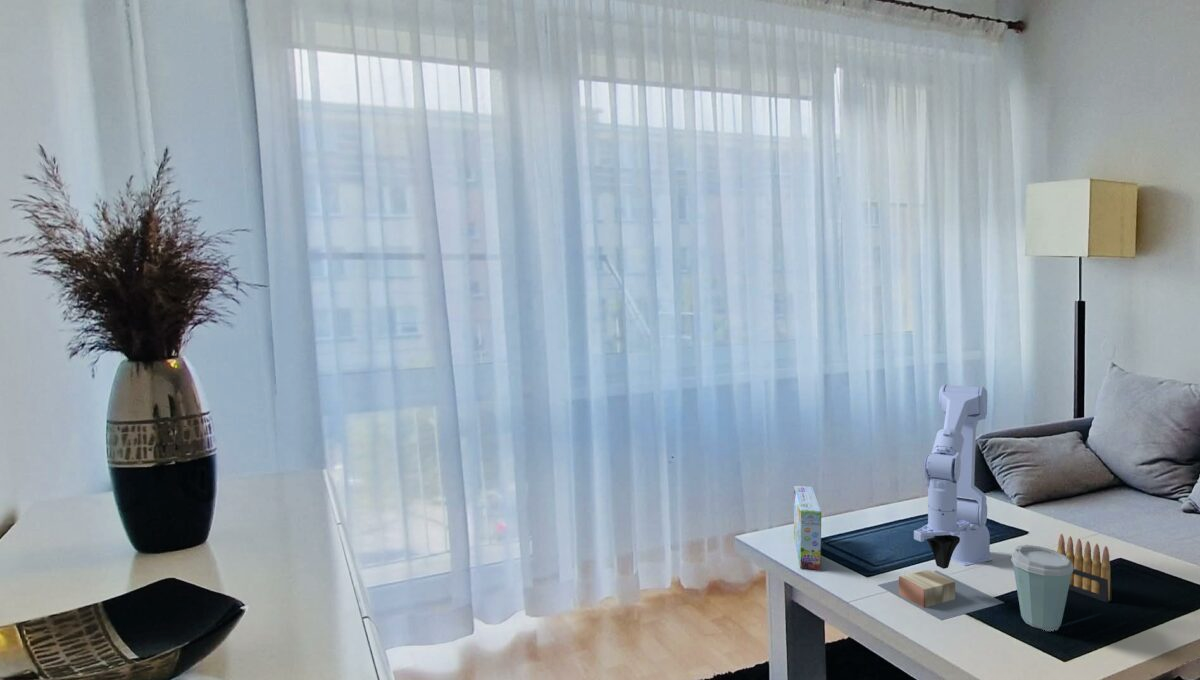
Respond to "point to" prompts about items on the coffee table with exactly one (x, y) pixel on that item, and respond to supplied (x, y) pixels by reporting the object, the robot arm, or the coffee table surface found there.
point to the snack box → (807, 527)
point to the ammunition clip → (1088, 570)
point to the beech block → (926, 588)
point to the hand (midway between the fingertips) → (942, 566)
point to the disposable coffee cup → (1041, 585)
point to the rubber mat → (962, 604)
